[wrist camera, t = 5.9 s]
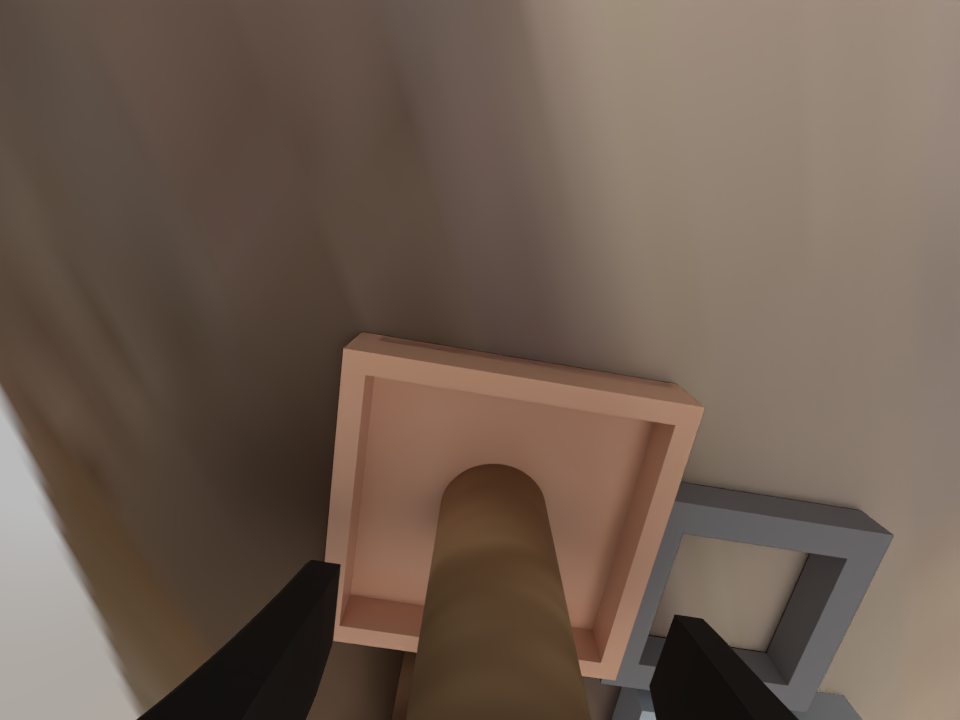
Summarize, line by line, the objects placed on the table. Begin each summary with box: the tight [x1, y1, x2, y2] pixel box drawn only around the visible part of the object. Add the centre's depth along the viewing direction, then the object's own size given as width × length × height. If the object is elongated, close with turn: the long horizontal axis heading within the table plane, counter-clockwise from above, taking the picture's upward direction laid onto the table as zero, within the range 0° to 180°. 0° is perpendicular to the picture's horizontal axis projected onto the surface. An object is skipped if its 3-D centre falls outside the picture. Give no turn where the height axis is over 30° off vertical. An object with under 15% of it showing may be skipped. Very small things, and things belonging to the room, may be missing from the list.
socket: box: [599, 482, 894, 712], centre depth 15 cm, size 7×7×1 cm
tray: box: [325, 332, 705, 680], centre depth 14 cm, size 9×9×2 cm
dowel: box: [406, 464, 591, 720], centre depth 11 cm, size 3×3×7 cm
